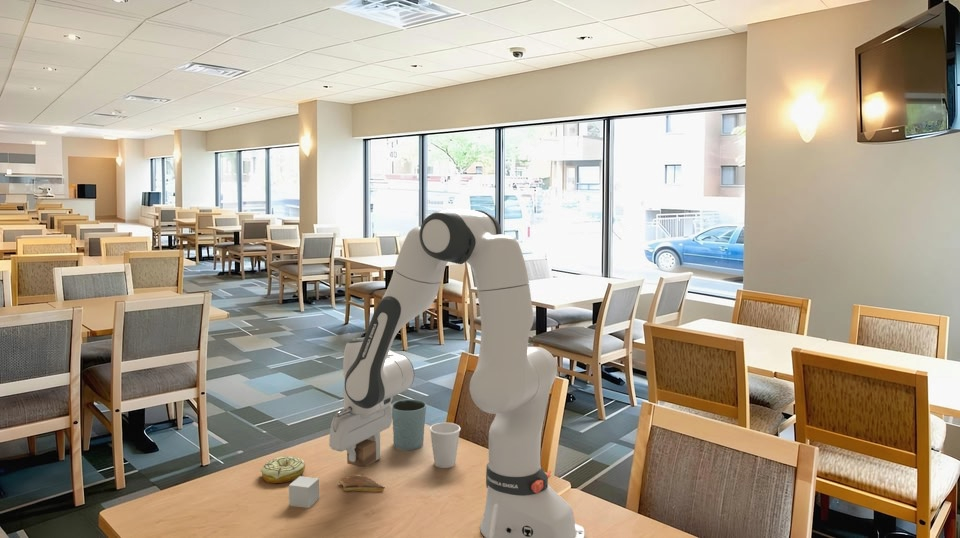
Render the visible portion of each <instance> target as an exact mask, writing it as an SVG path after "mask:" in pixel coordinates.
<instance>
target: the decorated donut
mask: <svg viewBox="0 0 960 538" xmlns="http://www.w3.org/2000/svg"><path fill="white" fill-rule="evenodd" d="M305 463H306V461H304V459H302V458H300V457H297V456H292V455H282V456H277V457H275V458H272V459H270V460H268V461H267V462H266V463H265V464H264V465H263V466H262V467H261V469H260V472H261V475H262V478H263V480H264V481H265V482H266V483H268V484H269V483H270V484H283V483H287V482H291V481H292V482H293V481H294V480H296V479H297V478H298V477H299V476H302V475H303V474H304V472H305V469H306V464H305Z"/></svg>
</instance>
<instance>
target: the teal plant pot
mask: <svg viewBox="0 0 960 538" xmlns="http://www.w3.org/2000/svg"><path fill="white" fill-rule="evenodd" d="M391 404H392V431H393V432H392V434H393V437H392V438H393V439H392V440H393V442H392V443H393V447H395V449H398V450H401V451H413V450H418V449H421V448H422V447H423V445H424V438H425V437H424V435H425V425H426V413H427V402H425V401H423V400H419V399H415V398H414V399H412V398H411V399H410V398H409V399H400V400H396V401H394V402H392V403H391Z"/></svg>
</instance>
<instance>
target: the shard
mask: <svg viewBox="0 0 960 538" xmlns="http://www.w3.org/2000/svg"><path fill="white" fill-rule="evenodd" d="M338 483H340V485H342V486H343V489H342V490H343V492H352V491H353V492H354V491H356V492H384V491H385V488H386V487H385V486H383V485H381V484H379V483H378V482H376V481H375V480H373V479H371V478H369V476H365V475H363V474H352V475H350V476H347V477H346V476H345V477H343V478H340V479H338Z"/></svg>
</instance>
